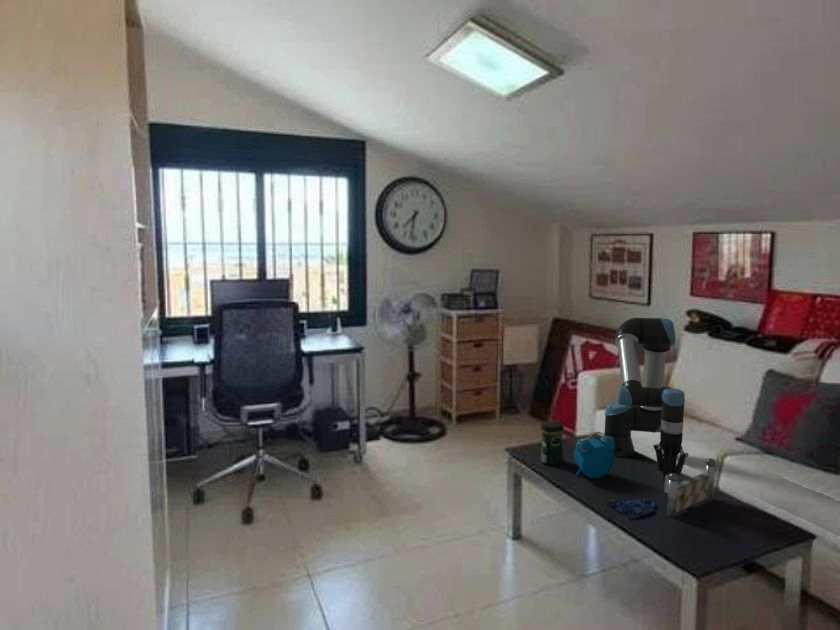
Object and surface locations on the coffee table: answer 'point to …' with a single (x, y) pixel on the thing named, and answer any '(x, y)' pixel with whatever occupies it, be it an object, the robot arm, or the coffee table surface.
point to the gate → (692, 491)
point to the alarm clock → (594, 456)
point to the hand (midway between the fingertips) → (668, 491)
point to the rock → (632, 506)
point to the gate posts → (674, 486)
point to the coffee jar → (551, 442)
